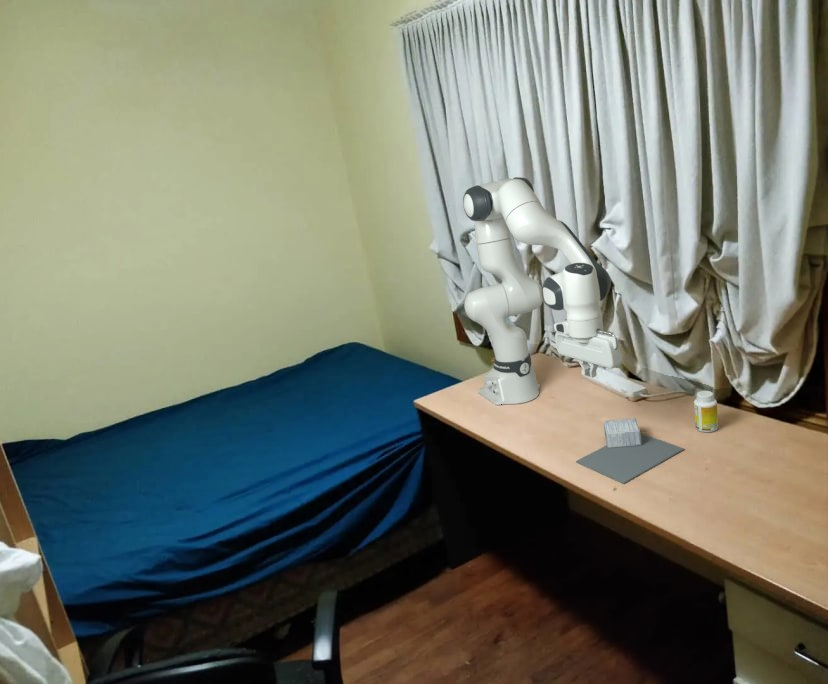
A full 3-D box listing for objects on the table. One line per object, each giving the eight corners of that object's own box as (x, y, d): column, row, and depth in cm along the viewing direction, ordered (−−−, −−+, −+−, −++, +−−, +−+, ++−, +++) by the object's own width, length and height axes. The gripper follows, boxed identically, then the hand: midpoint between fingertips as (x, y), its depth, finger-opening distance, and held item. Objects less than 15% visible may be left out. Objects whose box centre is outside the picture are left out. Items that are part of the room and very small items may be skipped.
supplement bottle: (723, 427, 168) (721, 392, 166) (709, 435, 166) (707, 399, 163) (704, 422, 173) (702, 387, 170) (690, 429, 171) (688, 394, 168)
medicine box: (607, 448, 168) (641, 446, 167) (606, 433, 167) (640, 430, 165) (604, 434, 176) (637, 432, 174) (603, 420, 175) (636, 417, 173)
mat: (576, 462, 165) (575, 461, 165) (634, 432, 175) (634, 430, 175) (623, 484, 152) (623, 482, 152) (684, 450, 161) (684, 448, 161)
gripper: (625, 329, 156) (629, 380, 160) (566, 317, 173) (572, 364, 177) (607, 336, 153) (611, 389, 157) (549, 324, 170) (555, 371, 174)
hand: (590, 375), depth 167 cm, fingers closed
